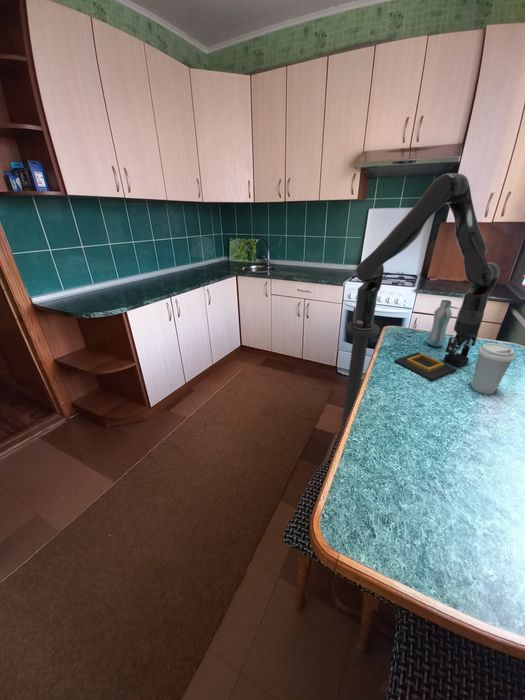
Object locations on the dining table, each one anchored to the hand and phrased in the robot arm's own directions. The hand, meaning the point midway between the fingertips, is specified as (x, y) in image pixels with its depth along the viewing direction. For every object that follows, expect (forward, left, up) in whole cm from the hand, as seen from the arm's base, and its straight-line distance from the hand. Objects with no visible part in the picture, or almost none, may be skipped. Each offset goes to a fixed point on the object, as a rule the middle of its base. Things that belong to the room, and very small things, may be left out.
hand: (456, 359), depth 112 cm
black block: (0, 0, -2) cm, 2 cm away
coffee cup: (+15, -9, -2) cm, 17 cm away
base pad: (-4, -13, -2) cm, 14 cm away
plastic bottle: (-14, +8, -2) cm, 16 cm away
